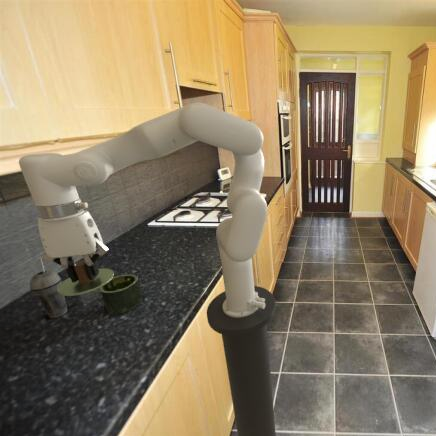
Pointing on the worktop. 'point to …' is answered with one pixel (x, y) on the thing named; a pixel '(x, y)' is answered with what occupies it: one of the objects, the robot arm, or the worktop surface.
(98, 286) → the lid
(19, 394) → the worktop surface
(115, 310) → the tin
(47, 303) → the beverage cup
